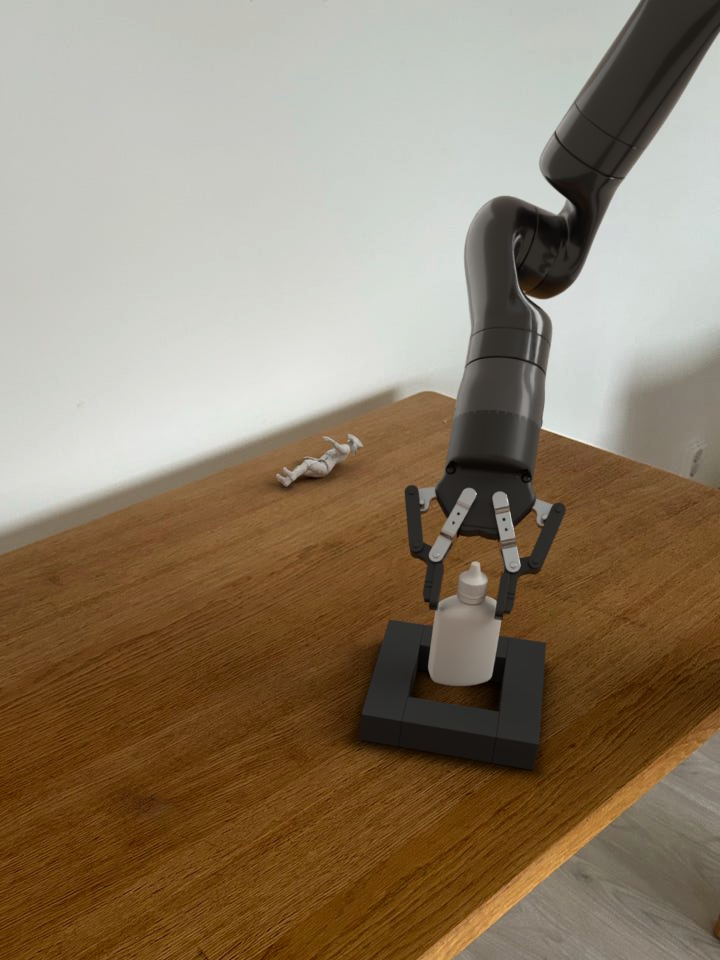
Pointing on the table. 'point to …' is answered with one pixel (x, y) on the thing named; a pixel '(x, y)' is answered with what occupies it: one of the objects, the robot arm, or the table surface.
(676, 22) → the robot arm
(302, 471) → the soldier figure
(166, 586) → the table surface
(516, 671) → the black rectangular frame
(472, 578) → the eye dropper bottle
